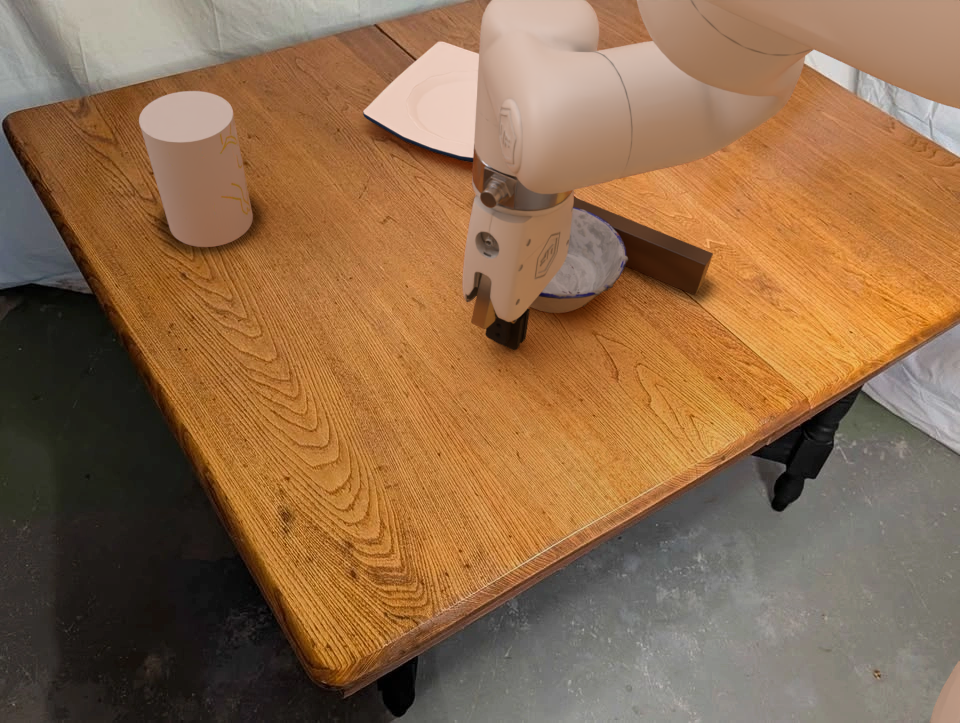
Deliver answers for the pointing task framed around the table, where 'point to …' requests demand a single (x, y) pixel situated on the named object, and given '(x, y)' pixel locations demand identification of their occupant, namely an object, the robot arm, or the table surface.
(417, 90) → the plate
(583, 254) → the bowl
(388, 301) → the table surface
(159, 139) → the pink tall cylinder
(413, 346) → the table surface
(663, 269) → the rail
